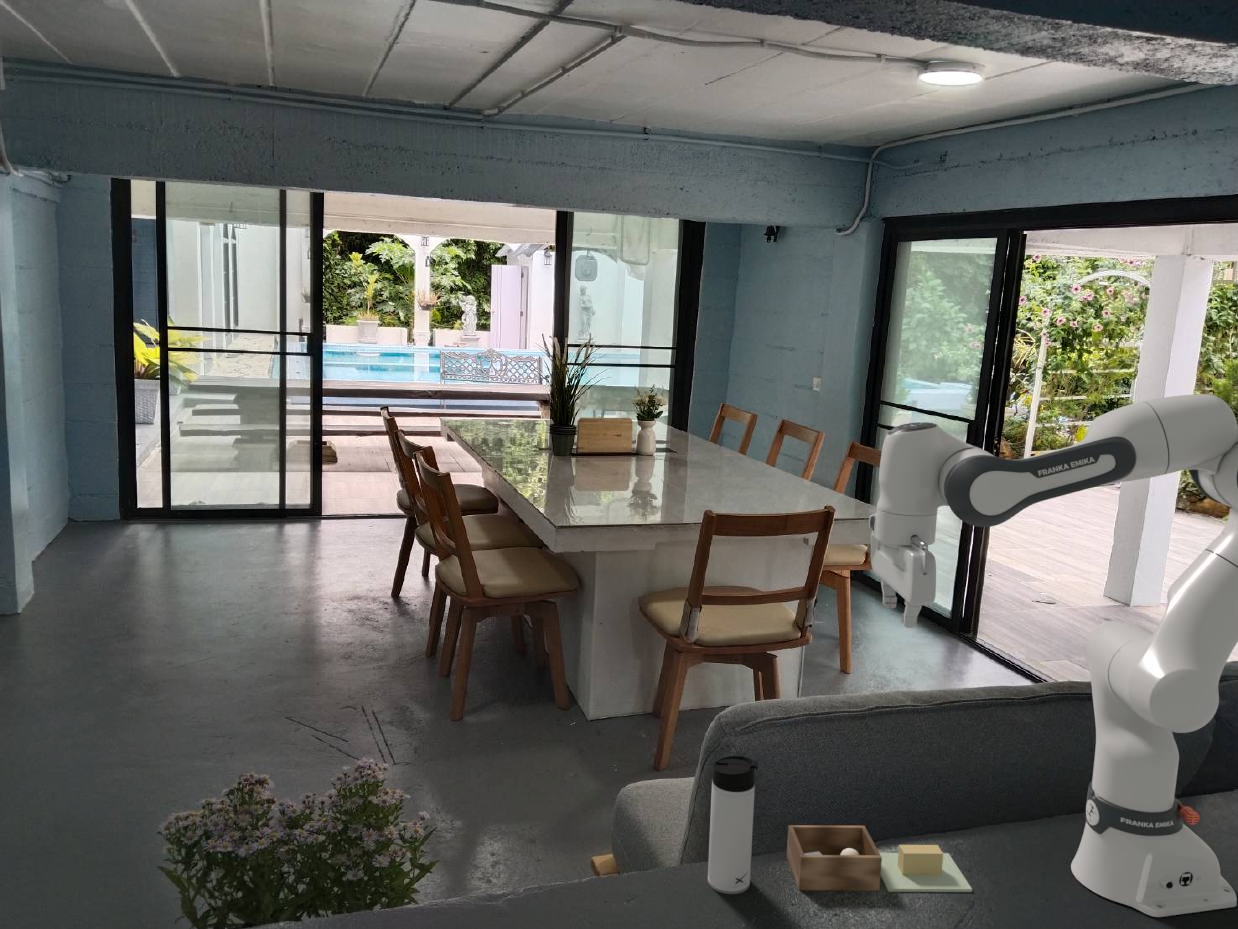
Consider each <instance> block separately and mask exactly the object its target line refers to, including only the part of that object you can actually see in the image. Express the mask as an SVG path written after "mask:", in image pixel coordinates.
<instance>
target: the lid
mask: <svg viewBox="0 0 1238 929" xmlns="http://www.w3.org/2000/svg"><path fill="white" fill-rule="evenodd" d="M879 853H880V855H881V857H882V862H881V876H880V880H881V881H882V884H883V885H884V886H885V887H884V888H885V889H886V890H887V892H889V893H891V892H892V893H893V892H894V893H897V892H898V893H903V892H905V893H909V892H910V893H911V892H912V893H920V892H921V893H972V892H973V887H972V886H971V885H970V884H969V882H968V880H967V879H966V878H965V876H964V874H963V873H962V871H961V870H960V869H959V867H958V866H957V863H956V862H955V861H954V859H953V858H952V857H951V855H950V853H948V852H943V851H942V849H941V848H940V846H939V845H938V844H899V845H898V852H879Z"/></svg>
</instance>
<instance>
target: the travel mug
mask: <svg viewBox="0 0 1238 929" xmlns="http://www.w3.org/2000/svg"><path fill="white" fill-rule="evenodd" d="M758 762H759V761H758V760H754V759H752V758H750V757H748V756H742V755H728V756H724V757H720V758H719V759H717V760H716V761H715V762H714V764H713V766H712V779H711V796H710V816H709V817H710V818H709V819H710V820H709V821H710V823H709V838H708V839H709V841H708V842H709V843H708V863H707V864H708V865H707V884H708V885H709V887H710V888H711V889H713V890H714V891H716V892H718V893H720V894H721V893H722V894H726V895H737V894H741V893H743V892H746V891H747V890H748V889H750V885H751V884H750V883H751V867H752V866H751V863H752V845H753V826H754V825H753V824H754V810H755V809H754V808H755V807H754V806H755V790H756V789H755V787H756V782H755V778H756V773H755V771H758V769H759V763H758Z"/></svg>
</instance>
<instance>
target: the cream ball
mask: <svg viewBox="0 0 1238 929" xmlns="http://www.w3.org/2000/svg"><path fill="white" fill-rule="evenodd" d="M840 855H859V853H858V852H857V851H856V850H854V849H852V848H846V849H844V850H843V851H842V852H841V854H840Z"/></svg>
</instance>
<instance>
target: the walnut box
mask: <svg viewBox="0 0 1238 929" xmlns="http://www.w3.org/2000/svg"><path fill="white" fill-rule="evenodd" d="M787 826H788V827H787V828H788V829H787V843H786V858H787V861H788V865H789V866H790V869H791V872H792V875H793V877H794V880H795V882H796V886H797V888H798V891H880V889H881V888H880V886H881V877H880V876H881V862H882V857H881V855H880V853H881V852H879V850H878V848H877V846H876V844H875V843H874V840H873V839H872V837H871V835H870V833H869V831H868V829H867V828H866V826H865V825H834V824H833V825H832V824H831V825H829V824H828V825H825V824H823V825H820V824H819V825H814V824H813V825H809V824H808V825H806V824H804V825H802V824H801V825H799V824H796V825H794V824H790V825H787ZM846 848H852V849H854V850H856V851H857V852H858V853H859V855H840V854H841V852H842V851H843V850H844V849H846ZM817 851H819V852H820V853H821V854H822V855H804V853H811V852H817Z"/></svg>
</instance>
